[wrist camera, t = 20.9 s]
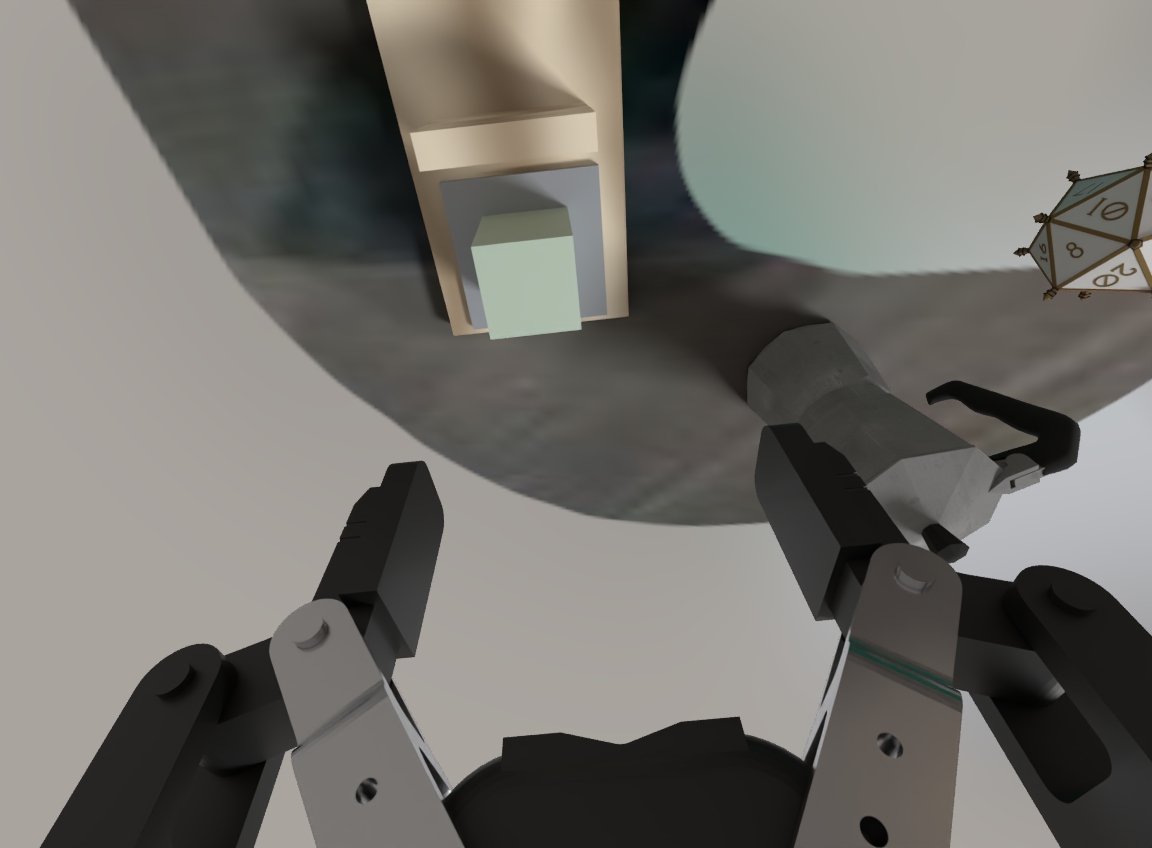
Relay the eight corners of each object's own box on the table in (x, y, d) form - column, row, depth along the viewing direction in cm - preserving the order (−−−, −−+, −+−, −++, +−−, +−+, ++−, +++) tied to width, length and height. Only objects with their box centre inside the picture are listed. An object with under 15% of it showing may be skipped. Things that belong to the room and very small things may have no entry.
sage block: (567, 206, 29) (572, 235, 24) (575, 289, 32) (581, 329, 27) (482, 216, 29) (470, 247, 24) (497, 297, 32) (490, 339, 27)
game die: (1023, 225, 37) (1099, 341, 34) (958, 217, 33) (1037, 347, 30) (1194, 116, 29) (1311, 254, 26) (1134, 91, 26) (1263, 248, 23)
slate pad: (597, 163, 28) (598, 165, 28) (606, 311, 33) (607, 314, 33) (440, 181, 28) (439, 183, 28) (474, 326, 34) (473, 329, 33)
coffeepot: (743, 449, 43) (846, 643, 29) (700, 372, 39) (798, 559, 24) (925, 362, 39) (1153, 538, 25) (903, 263, 34) (1171, 410, 20)
